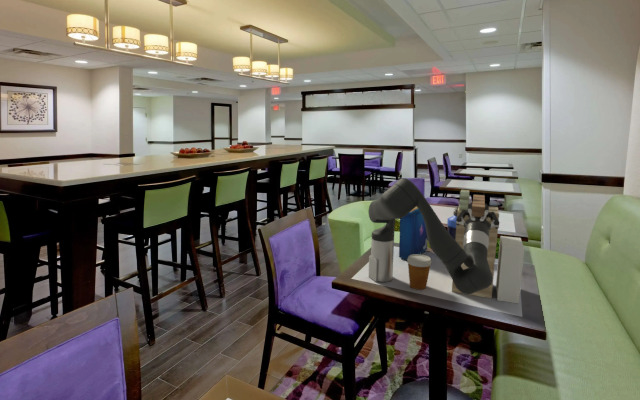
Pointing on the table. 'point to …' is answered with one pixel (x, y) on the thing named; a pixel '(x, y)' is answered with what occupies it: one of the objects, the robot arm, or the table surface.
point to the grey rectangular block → (509, 269)
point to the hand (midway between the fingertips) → (478, 205)
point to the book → (412, 234)
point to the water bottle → (452, 224)
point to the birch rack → (491, 248)
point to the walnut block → (478, 205)
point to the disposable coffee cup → (418, 270)
